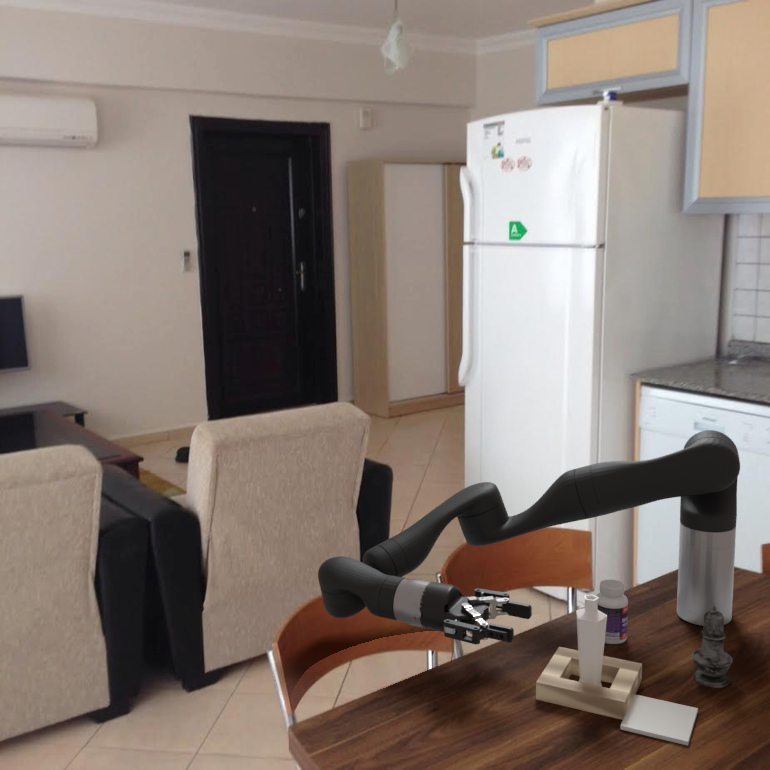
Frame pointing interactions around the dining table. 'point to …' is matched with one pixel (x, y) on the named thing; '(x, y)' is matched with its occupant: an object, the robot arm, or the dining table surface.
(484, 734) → the dining table surface
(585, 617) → the white vase
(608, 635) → the pill bottle
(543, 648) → the dining table surface
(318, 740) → the dining table surface
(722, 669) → the black chess piece
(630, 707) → the coaster
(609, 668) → the frame
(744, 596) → the dining table surface
